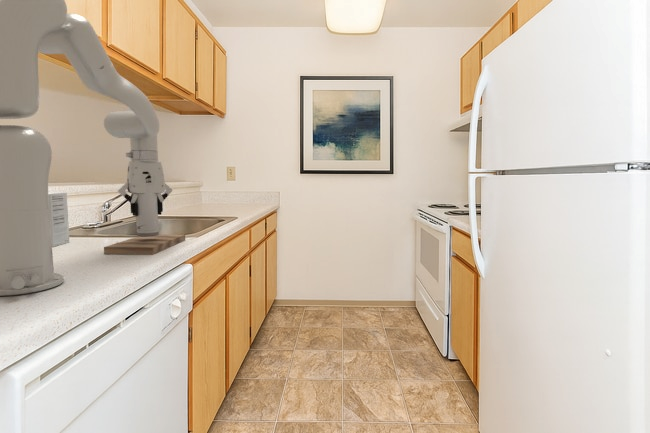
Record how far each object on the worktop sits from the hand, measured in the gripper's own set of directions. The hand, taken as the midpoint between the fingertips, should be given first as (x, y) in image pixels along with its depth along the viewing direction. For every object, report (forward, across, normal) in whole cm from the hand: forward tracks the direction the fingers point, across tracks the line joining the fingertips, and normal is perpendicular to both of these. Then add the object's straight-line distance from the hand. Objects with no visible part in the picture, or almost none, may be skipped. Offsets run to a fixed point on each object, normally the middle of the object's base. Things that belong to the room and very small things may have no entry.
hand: (147, 214), depth 117 cm
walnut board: (+10, 0, 0) cm, 10 cm away
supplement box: (+10, -24, +24) cm, 36 cm away
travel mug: (+7, 0, 0) cm, 7 cm away
